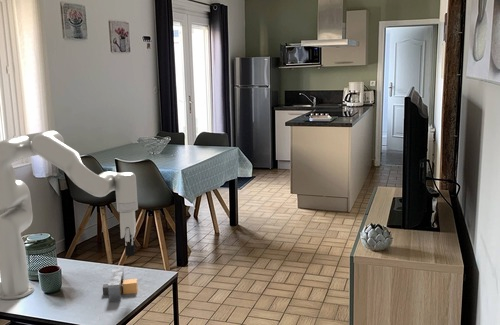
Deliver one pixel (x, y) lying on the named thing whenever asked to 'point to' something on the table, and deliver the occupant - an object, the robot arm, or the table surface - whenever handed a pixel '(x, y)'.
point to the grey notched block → (115, 284)
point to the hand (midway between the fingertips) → (130, 252)
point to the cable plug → (124, 287)
